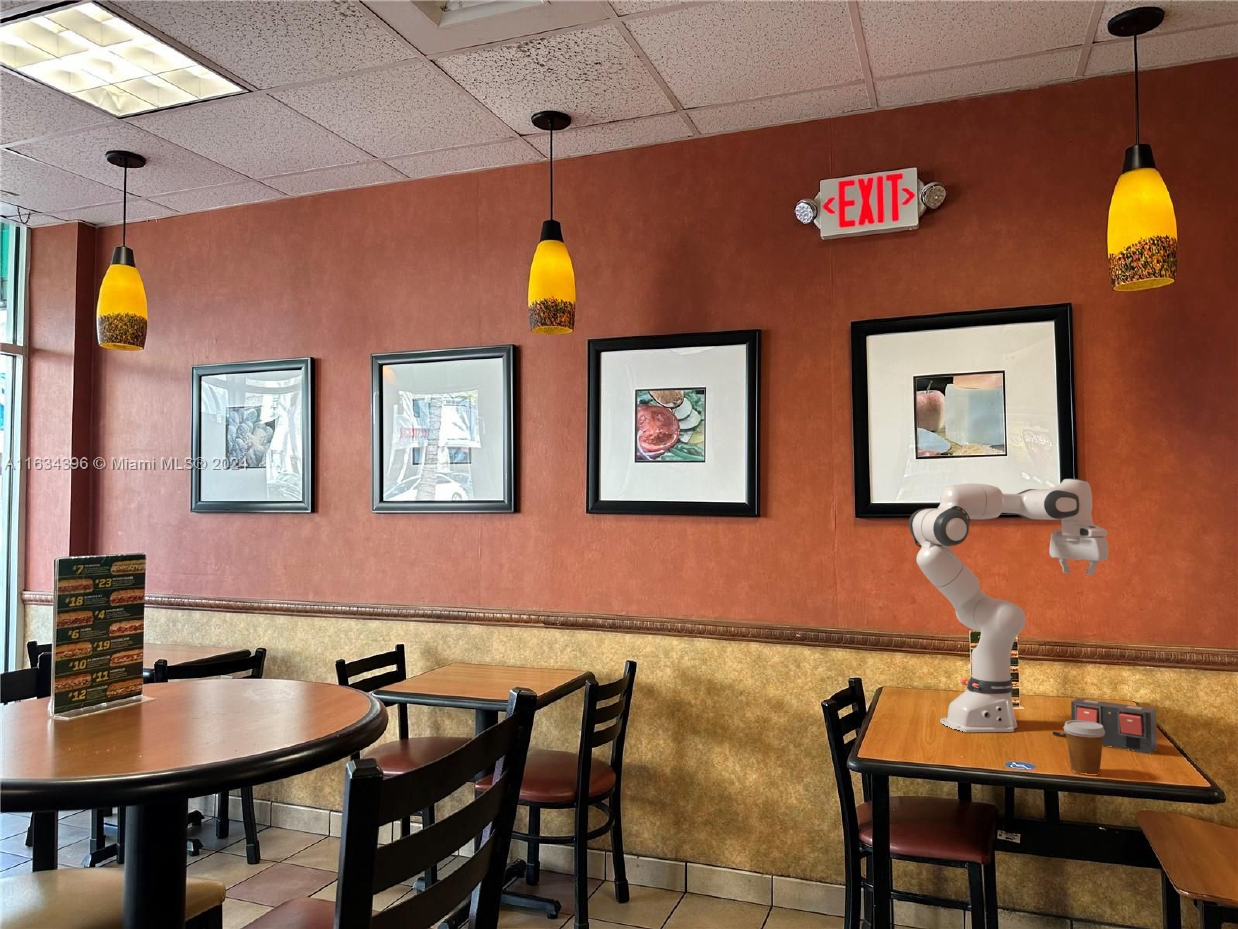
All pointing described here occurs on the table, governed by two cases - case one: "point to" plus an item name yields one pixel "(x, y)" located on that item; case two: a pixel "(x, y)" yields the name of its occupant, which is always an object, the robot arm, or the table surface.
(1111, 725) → the double rocker switch box
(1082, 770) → the disposable coffee cup
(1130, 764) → the table surface
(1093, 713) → the rocker
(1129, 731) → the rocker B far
